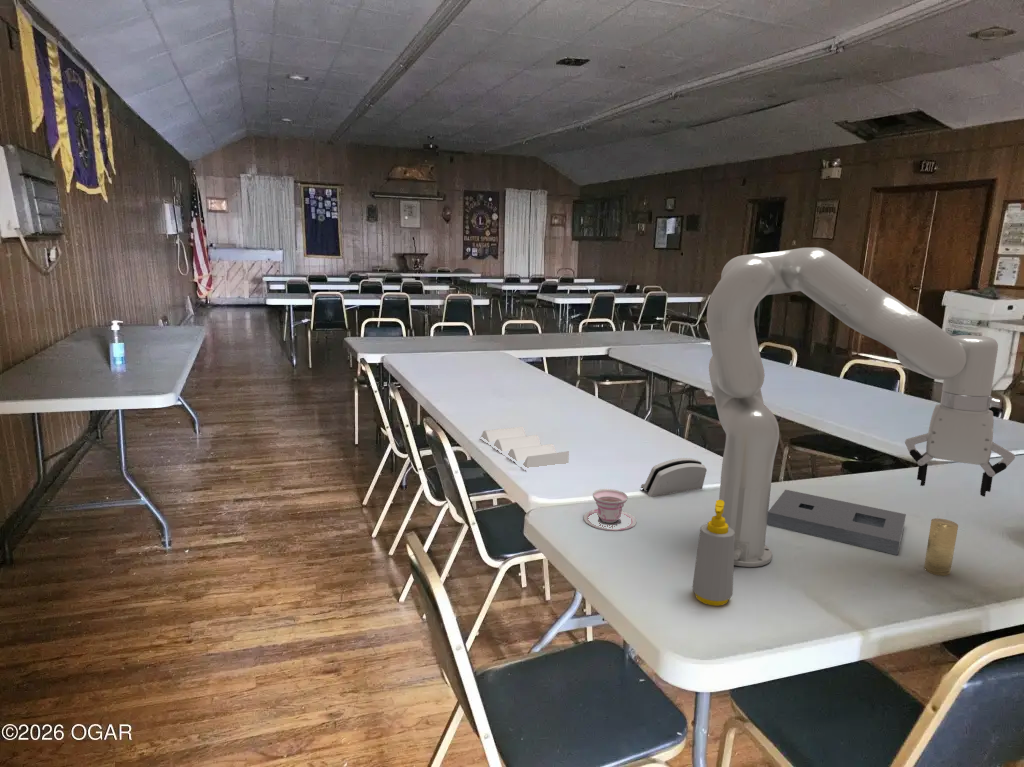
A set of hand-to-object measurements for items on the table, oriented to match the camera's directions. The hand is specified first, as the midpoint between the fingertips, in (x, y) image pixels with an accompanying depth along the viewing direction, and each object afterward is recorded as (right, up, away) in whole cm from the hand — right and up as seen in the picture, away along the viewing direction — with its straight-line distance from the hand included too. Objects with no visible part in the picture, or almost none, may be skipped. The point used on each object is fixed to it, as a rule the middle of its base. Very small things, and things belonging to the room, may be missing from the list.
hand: (952, 489), depth 127 cm
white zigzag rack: (-82, -1, +74) cm, 110 cm away
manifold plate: (-11, -12, +24) cm, 29 cm away
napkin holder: (-42, -8, +44) cm, 62 cm away
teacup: (-62, -11, +24) cm, 68 cm away
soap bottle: (-49, -18, -9) cm, 53 cm away
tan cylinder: (-1, -17, +3) cm, 17 cm away
